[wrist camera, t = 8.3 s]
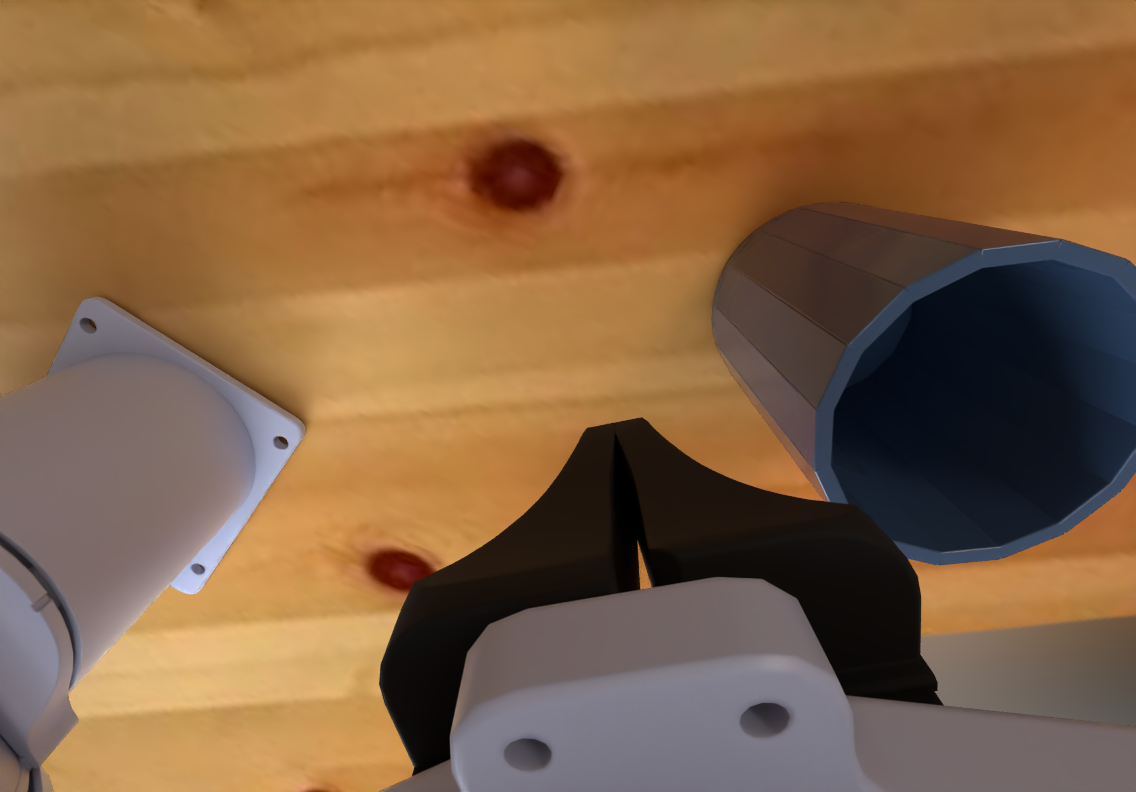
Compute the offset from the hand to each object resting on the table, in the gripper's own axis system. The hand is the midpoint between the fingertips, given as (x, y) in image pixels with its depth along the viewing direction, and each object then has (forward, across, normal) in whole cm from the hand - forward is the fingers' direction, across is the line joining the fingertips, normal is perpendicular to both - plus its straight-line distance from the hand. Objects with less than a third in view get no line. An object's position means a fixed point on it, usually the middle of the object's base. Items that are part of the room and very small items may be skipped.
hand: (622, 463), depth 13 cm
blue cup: (+8, -7, 0) cm, 11 cm away
